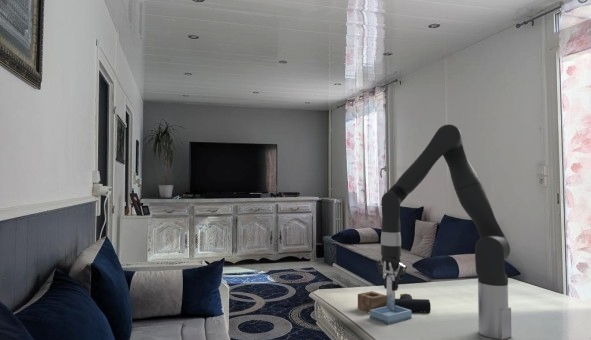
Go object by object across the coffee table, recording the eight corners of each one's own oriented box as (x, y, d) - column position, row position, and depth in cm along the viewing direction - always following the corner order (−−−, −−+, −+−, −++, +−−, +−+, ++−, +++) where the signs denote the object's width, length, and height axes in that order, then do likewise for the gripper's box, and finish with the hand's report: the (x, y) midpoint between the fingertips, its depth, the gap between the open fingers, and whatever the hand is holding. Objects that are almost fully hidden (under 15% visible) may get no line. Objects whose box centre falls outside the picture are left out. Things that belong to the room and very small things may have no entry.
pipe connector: (387, 292, 171) (423, 293, 170) (387, 304, 171) (423, 305, 170) (392, 300, 160) (430, 301, 159) (392, 313, 160) (430, 314, 159)
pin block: (386, 310, 162) (386, 295, 162) (372, 314, 157) (372, 298, 157) (371, 305, 168) (371, 291, 169) (357, 308, 164) (357, 293, 164)
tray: (411, 318, 152) (411, 310, 152) (388, 324, 145) (388, 316, 145) (393, 312, 160) (393, 304, 160) (370, 318, 152) (370, 310, 152)
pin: (396, 308, 152) (396, 276, 153) (391, 310, 150) (391, 277, 151) (390, 306, 155) (390, 275, 155) (384, 307, 153) (384, 276, 153)
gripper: (412, 245, 150) (412, 292, 149) (383, 241, 161) (383, 284, 161) (398, 246, 146) (398, 295, 145) (370, 242, 157) (370, 286, 156)
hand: (390, 289), depth 153 cm, fingers closed on pin, 3 cm apart
